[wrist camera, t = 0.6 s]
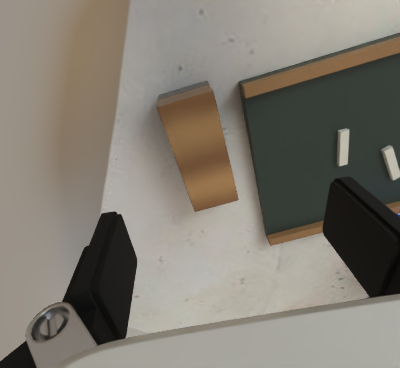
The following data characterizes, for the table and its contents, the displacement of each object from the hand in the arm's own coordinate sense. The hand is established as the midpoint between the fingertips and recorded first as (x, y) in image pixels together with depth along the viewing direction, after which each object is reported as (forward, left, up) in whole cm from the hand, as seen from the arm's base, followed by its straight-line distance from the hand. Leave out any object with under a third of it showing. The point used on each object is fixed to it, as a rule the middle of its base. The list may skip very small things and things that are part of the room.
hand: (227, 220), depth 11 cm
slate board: (+10, +17, -18) cm, 26 cm away
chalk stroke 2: (+13, +21, -17) cm, 29 cm away
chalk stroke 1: (+9, +15, -17) cm, 24 cm away
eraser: (+4, -1, -18) cm, 18 cm away
